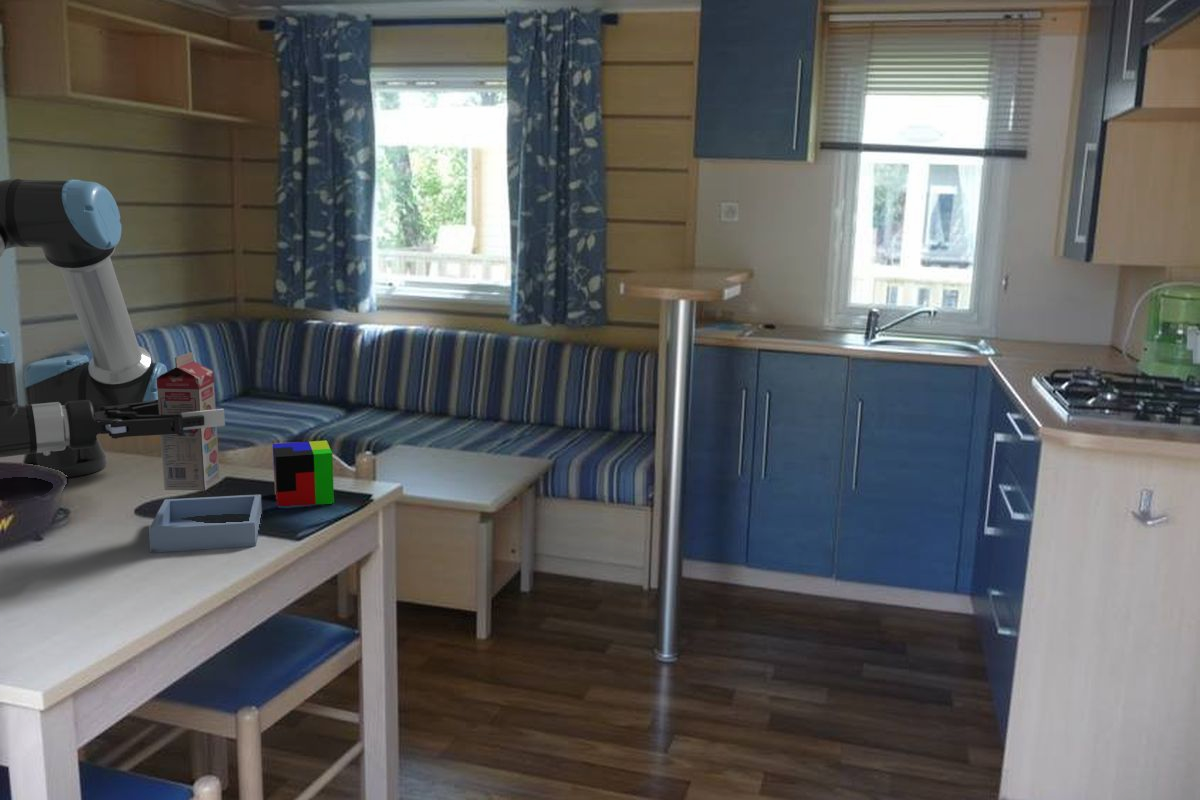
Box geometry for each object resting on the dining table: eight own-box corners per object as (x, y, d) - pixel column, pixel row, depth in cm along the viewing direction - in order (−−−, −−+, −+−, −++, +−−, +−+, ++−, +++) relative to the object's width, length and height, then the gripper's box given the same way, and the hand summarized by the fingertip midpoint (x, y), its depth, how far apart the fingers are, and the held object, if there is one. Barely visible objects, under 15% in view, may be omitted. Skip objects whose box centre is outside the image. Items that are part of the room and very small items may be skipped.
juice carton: (164, 489, 163) (155, 357, 158) (180, 478, 169) (172, 350, 165) (204, 490, 163) (196, 357, 158) (219, 479, 169) (212, 351, 165)
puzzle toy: (274, 494, 192) (272, 443, 190) (328, 489, 195) (326, 440, 193) (278, 509, 183) (275, 456, 181) (334, 504, 186) (332, 453, 184)
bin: (166, 521, 175) (164, 499, 174) (262, 515, 179) (261, 494, 178) (150, 552, 159) (148, 529, 159) (255, 545, 163) (254, 522, 163)
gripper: (59, 434, 163) (203, 420, 176) (76, 465, 146) (234, 447, 158) (55, 390, 162) (200, 378, 174) (72, 415, 144) (232, 401, 156)
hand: (216, 411), depth 166 cm, fingers closed on juice carton, 9 cm apart
